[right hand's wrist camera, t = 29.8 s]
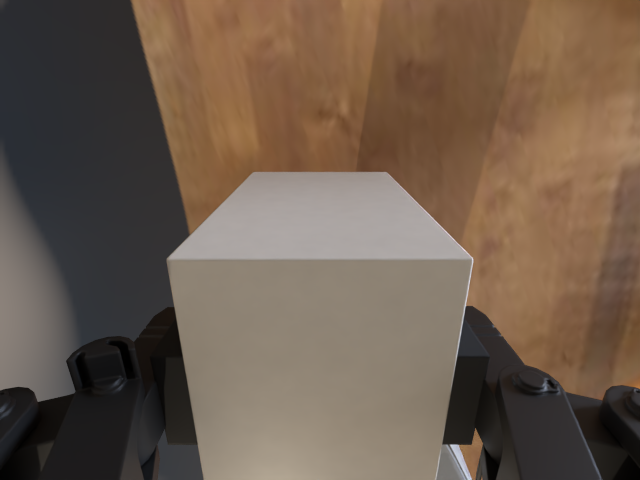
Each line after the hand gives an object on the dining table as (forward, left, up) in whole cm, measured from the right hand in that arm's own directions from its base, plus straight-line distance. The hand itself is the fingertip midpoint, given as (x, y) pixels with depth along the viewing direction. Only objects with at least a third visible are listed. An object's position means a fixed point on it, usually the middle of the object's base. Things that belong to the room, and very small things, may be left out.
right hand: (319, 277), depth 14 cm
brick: (0, 0, -3) cm, 3 cm away
